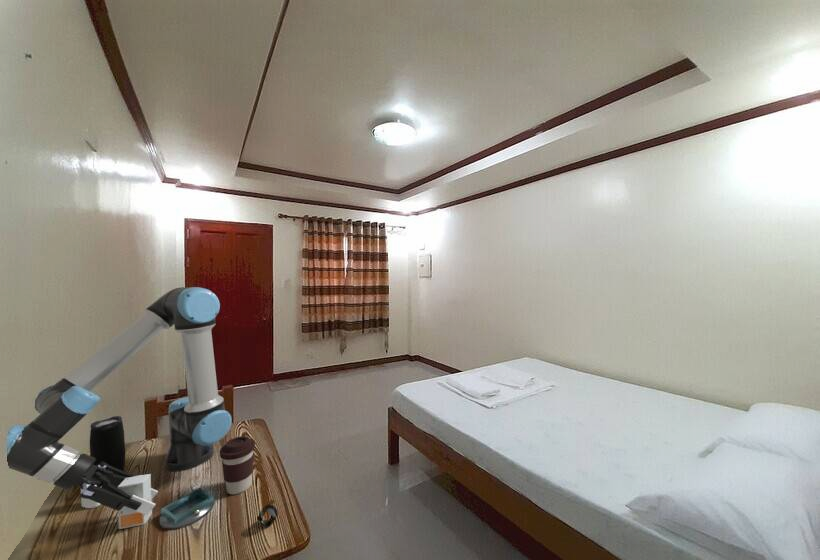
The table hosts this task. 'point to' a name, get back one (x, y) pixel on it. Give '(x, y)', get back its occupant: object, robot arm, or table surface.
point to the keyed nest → (187, 510)
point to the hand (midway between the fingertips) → (152, 502)
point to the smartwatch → (271, 511)
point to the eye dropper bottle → (88, 502)
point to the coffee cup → (238, 464)
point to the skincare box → (139, 488)
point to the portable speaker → (108, 442)
